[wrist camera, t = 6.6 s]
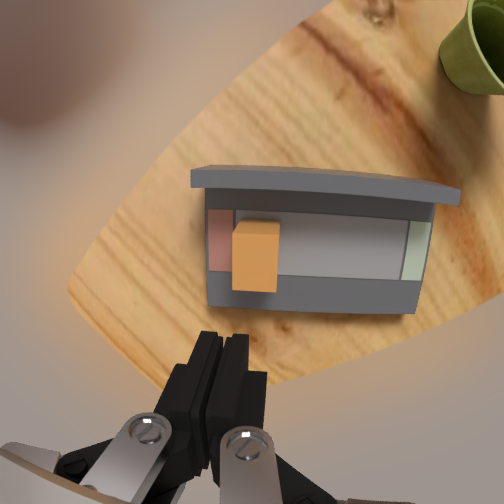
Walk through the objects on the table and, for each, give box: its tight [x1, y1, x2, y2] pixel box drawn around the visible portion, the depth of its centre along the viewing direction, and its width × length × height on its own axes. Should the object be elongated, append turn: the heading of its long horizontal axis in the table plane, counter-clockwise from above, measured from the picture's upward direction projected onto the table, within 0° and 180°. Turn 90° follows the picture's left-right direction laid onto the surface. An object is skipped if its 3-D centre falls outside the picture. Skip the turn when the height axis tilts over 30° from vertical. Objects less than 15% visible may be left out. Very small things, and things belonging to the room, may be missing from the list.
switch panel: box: [191, 165, 461, 314], centre depth 24 cm, size 19×12×6 cm, turn 89°
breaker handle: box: [232, 218, 280, 292], centre depth 23 cm, size 3×4×4 cm
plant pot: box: [439, 0, 504, 95], centre depth 16 cm, size 9×9×9 cm
